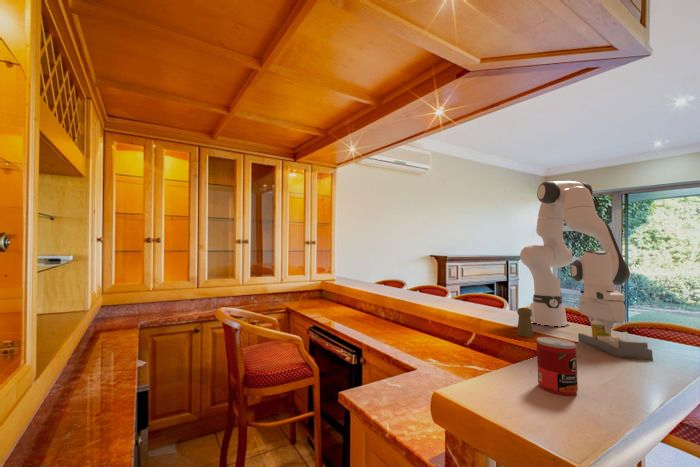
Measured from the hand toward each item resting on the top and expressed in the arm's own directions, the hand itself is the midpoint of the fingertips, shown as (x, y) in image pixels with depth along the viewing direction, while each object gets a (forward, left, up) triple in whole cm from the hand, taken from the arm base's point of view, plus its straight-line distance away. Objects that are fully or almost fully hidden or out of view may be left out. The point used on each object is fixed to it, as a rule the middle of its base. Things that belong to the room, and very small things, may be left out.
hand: (601, 330), depth 113 cm
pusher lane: (+5, 0, -5) cm, 7 cm away
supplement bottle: (0, 0, -4) cm, 4 cm away
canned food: (+47, -38, -5) cm, 61 cm away
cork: (-11, -22, -5) cm, 25 cm away
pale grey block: (+5, 0, -5) cm, 7 cm away
